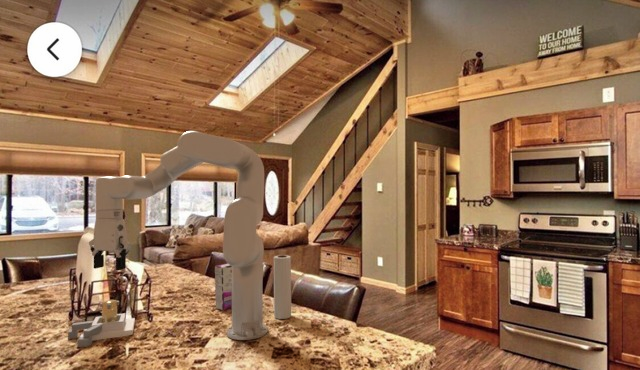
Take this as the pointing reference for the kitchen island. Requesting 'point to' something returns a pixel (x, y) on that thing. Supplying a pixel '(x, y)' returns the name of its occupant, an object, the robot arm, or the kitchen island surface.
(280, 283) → the paper towel roll
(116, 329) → the shaft stand
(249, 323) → the robot arm
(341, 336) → the kitchen island surface
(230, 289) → the candy bar box
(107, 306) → the gold rounded cylinder
